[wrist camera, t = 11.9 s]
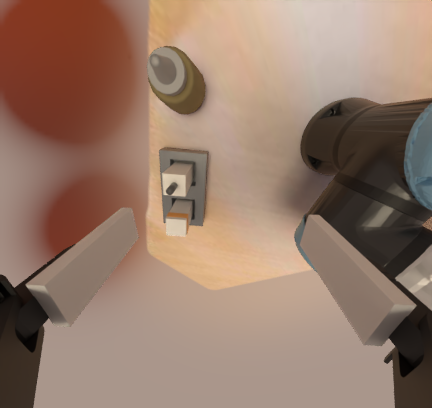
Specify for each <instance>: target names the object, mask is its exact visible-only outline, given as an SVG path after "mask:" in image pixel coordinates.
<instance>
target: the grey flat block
mask: <svg viewBox="0 0 432 408" xmlns="http://www.w3.org/2000/svg"><path fill="white" fill-rule="evenodd" d="M159 157H160V172H161V187H162V202H163V217H164V223H166V216H167V214H168V213H169V212H170V210H171V208H172V206H173V204H174V203H175V201H176V199H177V198H180V199H192V200H194V211H193V215H192V218H191V222H190V225H195V226H203V222H204V211H205V195H206V179H207V162H208V151H198V150H187V149H176V148H162V149H160V150H159ZM176 161H188V162H194V180H193V182H192V184H191V186H190V188H189V190H188V192H187V195H186V197H183V196H171V195H163V179H162V173H163V172H164V171H165V170H167V169H168V168H169V167H170V166H171V165H172V164H174V163H175V162H176Z"/></svg>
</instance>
